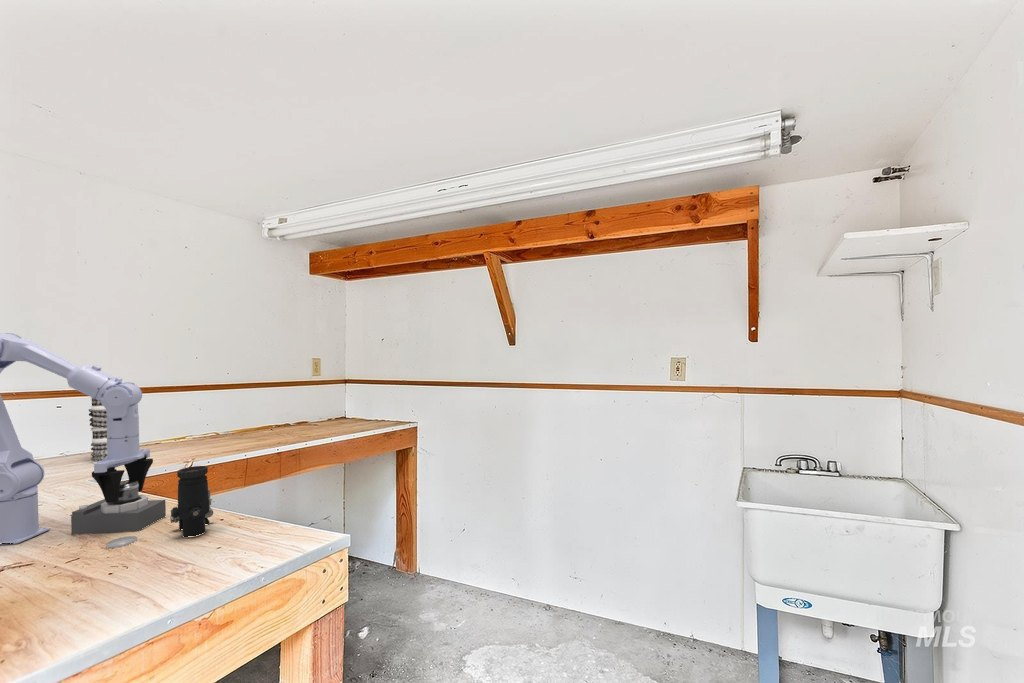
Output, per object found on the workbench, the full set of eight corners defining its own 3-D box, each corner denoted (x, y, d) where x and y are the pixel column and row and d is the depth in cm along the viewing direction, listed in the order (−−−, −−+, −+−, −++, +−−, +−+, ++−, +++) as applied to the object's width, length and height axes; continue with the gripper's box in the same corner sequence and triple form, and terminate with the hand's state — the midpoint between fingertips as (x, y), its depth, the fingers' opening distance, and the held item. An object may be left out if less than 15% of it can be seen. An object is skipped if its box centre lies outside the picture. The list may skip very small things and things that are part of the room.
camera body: (71, 534, 106) (70, 508, 106) (103, 519, 115) (103, 495, 115) (139, 531, 106) (138, 505, 107) (165, 516, 115) (165, 492, 116)
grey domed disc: (99, 550, 97) (99, 546, 97) (118, 540, 102) (118, 536, 102) (125, 549, 98) (125, 545, 98) (143, 539, 103) (143, 535, 103)
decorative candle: (87, 462, 177) (85, 393, 178) (119, 457, 184) (117, 390, 185) (92, 465, 172) (90, 394, 172) (125, 460, 179) (123, 391, 179)
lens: (127, 510, 108) (126, 485, 108) (108, 510, 109) (107, 485, 109) (144, 503, 113) (143, 480, 113) (125, 503, 113) (125, 480, 113)
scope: (211, 460, 111) (218, 468, 104) (212, 521, 111) (219, 534, 103) (167, 467, 106) (171, 476, 98) (169, 531, 106) (173, 544, 98)
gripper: (117, 442, 104) (119, 506, 104) (162, 430, 118) (163, 486, 118) (83, 443, 103) (84, 507, 103) (132, 431, 118) (133, 487, 118)
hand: (124, 496), depth 111 cm, fingers open, 7 cm apart
